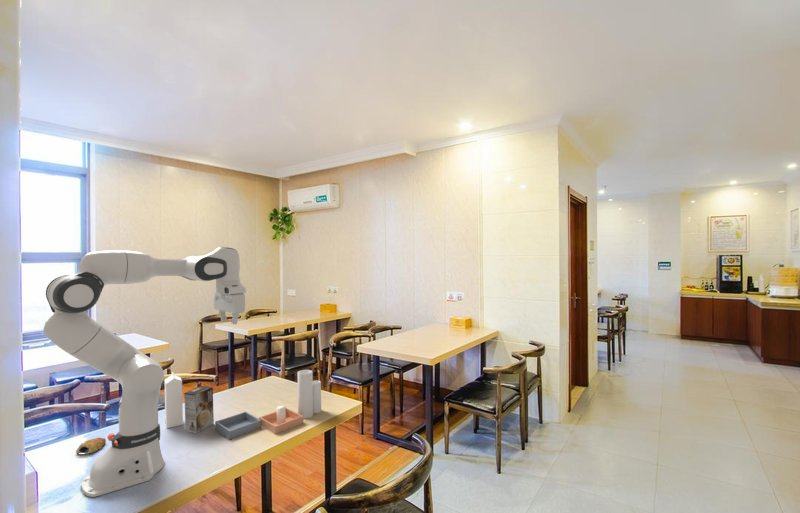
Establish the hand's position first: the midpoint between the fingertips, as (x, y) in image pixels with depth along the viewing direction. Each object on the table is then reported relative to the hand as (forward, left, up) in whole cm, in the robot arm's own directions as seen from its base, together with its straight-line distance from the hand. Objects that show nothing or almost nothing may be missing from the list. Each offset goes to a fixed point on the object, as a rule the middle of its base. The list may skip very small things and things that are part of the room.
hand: (228, 322), depth 153 cm
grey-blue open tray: (+5, +4, -46) cm, 46 cm away
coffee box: (-5, +18, -46) cm, 50 cm away
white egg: (+19, -6, -45) cm, 49 cm away
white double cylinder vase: (+33, -6, -46) cm, 57 cm away
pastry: (-39, +30, -46) cm, 68 cm away
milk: (-11, +30, -46) cm, 56 cm away
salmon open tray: (+19, -6, -46) cm, 50 cm away
